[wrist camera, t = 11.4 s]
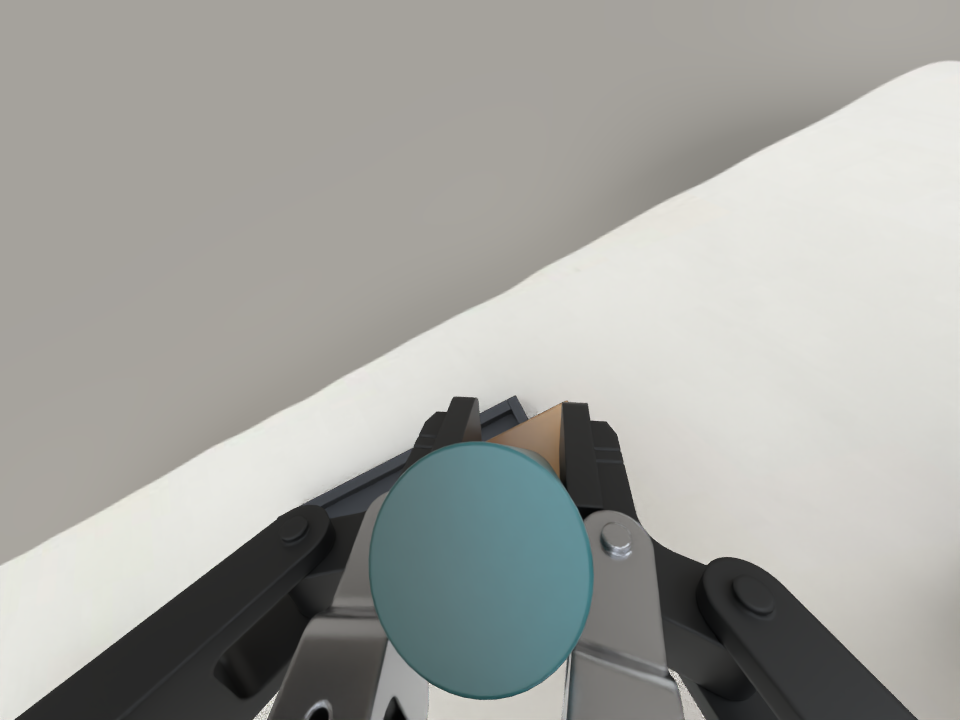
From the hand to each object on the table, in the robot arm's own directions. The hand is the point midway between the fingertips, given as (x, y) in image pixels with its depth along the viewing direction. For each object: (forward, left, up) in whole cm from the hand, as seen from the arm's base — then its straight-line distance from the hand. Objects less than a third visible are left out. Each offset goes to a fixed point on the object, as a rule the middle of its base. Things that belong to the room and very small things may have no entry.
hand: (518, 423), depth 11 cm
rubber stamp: (+1, +2, -5) cm, 6 cm away
